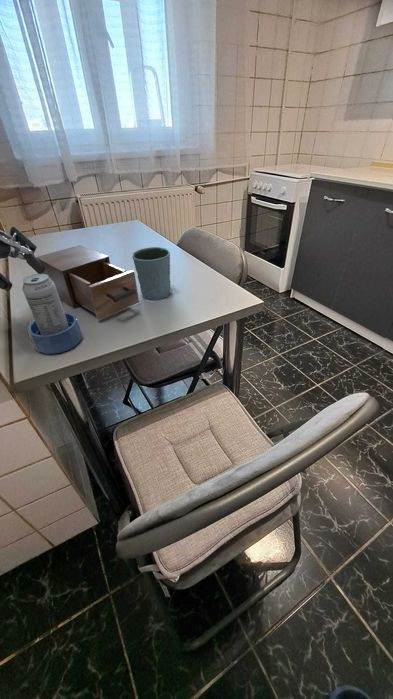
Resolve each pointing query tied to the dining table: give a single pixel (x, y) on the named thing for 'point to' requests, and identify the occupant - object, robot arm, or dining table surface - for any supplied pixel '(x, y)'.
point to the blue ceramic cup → (153, 272)
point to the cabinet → (69, 268)
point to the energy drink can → (45, 304)
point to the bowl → (56, 337)
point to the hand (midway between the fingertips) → (27, 279)
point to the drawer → (103, 288)
